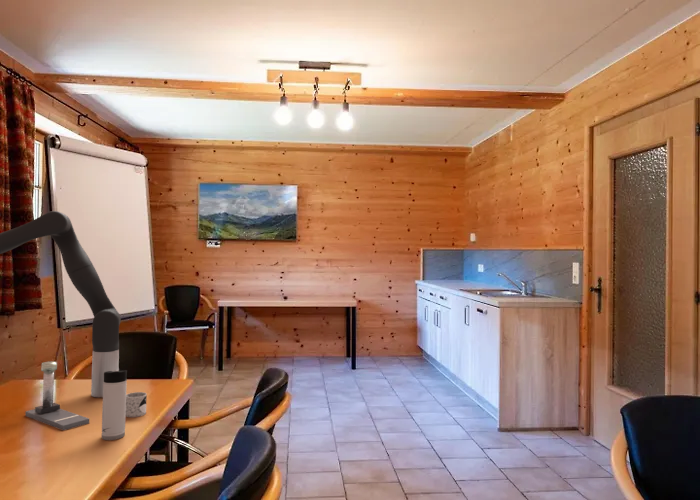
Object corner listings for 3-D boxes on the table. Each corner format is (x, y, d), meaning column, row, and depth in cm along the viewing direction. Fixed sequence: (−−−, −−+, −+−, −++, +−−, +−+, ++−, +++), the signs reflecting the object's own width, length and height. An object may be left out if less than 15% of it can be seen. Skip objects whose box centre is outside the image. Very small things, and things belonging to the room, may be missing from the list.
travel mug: (101, 442, 135) (103, 372, 136) (101, 434, 141) (103, 368, 142) (125, 438, 138) (127, 371, 139) (124, 431, 144) (126, 366, 145)
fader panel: (25, 415, 156) (25, 411, 156) (50, 409, 163) (50, 405, 163) (63, 430, 144) (63, 425, 144) (89, 423, 151) (89, 418, 151)
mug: (143, 416, 158) (144, 397, 158) (122, 417, 157) (123, 397, 157) (149, 407, 168) (150, 389, 168) (130, 408, 166) (130, 389, 167)
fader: (34, 411, 155) (36, 363, 156) (53, 407, 160) (55, 360, 161) (41, 414, 153) (43, 365, 154) (60, 409, 158) (62, 362, 159)
